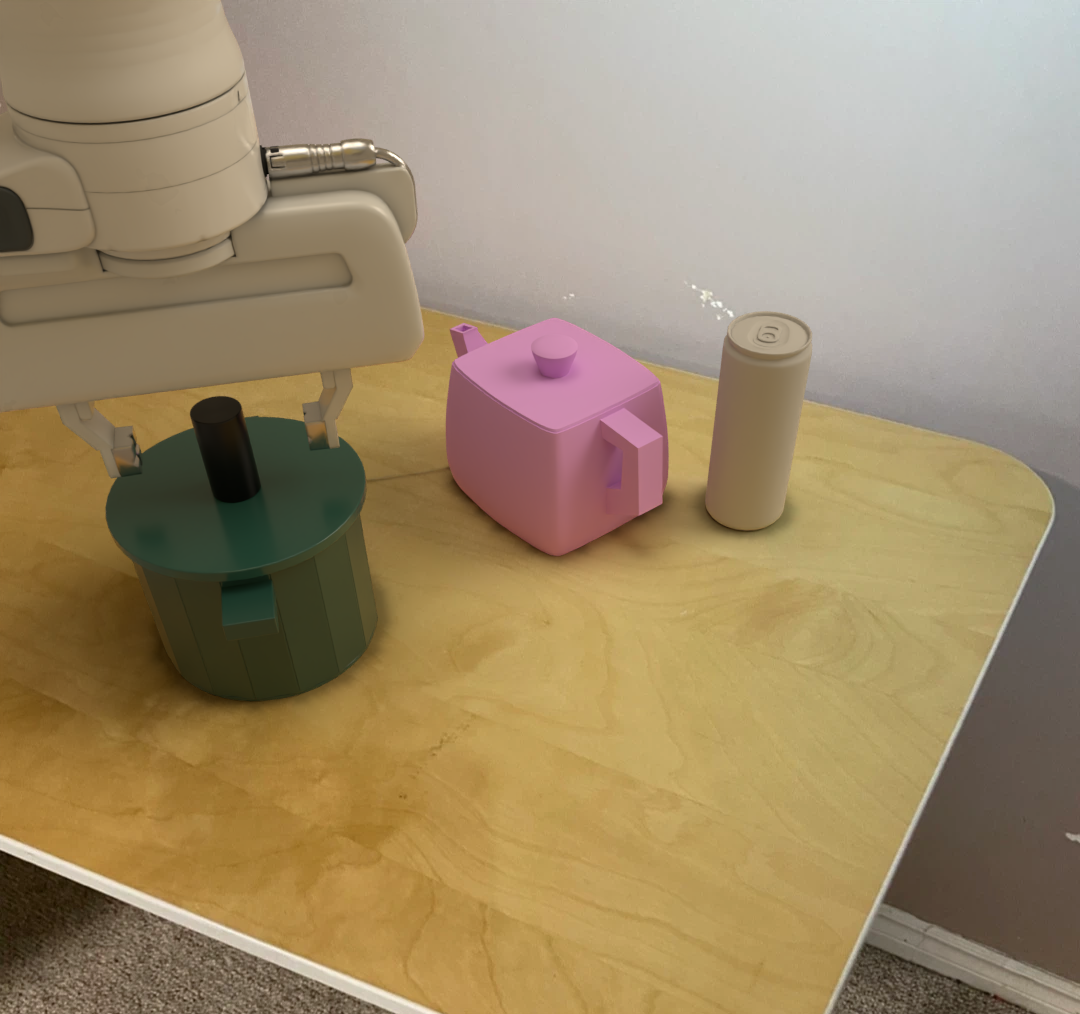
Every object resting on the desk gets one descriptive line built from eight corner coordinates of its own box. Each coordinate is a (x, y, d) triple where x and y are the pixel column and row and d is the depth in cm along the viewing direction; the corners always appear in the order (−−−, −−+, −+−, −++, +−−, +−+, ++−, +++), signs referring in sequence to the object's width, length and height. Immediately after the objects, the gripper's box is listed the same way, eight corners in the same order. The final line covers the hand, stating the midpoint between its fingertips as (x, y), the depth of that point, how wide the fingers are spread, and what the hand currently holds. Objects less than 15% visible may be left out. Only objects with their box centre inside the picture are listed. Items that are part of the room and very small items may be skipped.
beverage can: (695, 527, 68) (715, 347, 59) (713, 482, 71) (735, 304, 62) (774, 542, 67) (806, 361, 58) (789, 495, 70) (822, 316, 61)
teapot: (403, 457, 74) (384, 311, 66) (528, 399, 78) (524, 256, 70) (580, 597, 64) (581, 446, 56) (711, 523, 68) (729, 372, 61)
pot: (167, 759, 56) (113, 630, 50) (170, 549, 68) (126, 420, 61) (395, 721, 58) (372, 591, 51) (361, 521, 69) (339, 393, 62)
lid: (106, 611, 52) (65, 511, 47) (117, 453, 60) (83, 356, 56) (382, 569, 53) (366, 469, 49) (355, 421, 62) (339, 325, 57)
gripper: (400, 105, 47) (429, 393, 58) (-108, 154, 45) (18, 447, 55) (420, 164, 43) (448, 464, 54) (-137, 222, 41) (5, 525, 51)
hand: (227, 456), depth 54 cm, fingers open, 8 cm apart
